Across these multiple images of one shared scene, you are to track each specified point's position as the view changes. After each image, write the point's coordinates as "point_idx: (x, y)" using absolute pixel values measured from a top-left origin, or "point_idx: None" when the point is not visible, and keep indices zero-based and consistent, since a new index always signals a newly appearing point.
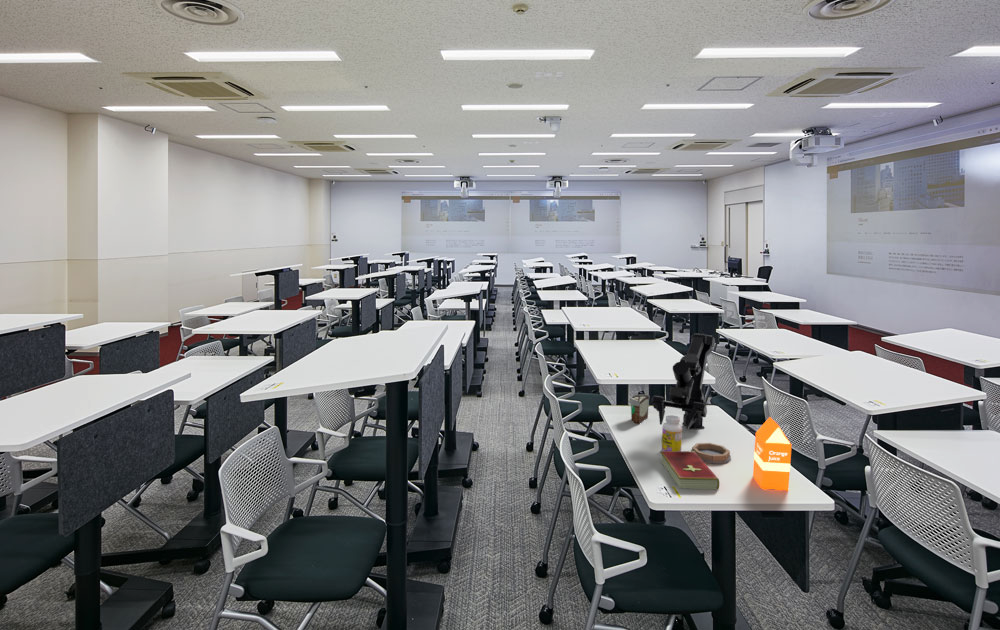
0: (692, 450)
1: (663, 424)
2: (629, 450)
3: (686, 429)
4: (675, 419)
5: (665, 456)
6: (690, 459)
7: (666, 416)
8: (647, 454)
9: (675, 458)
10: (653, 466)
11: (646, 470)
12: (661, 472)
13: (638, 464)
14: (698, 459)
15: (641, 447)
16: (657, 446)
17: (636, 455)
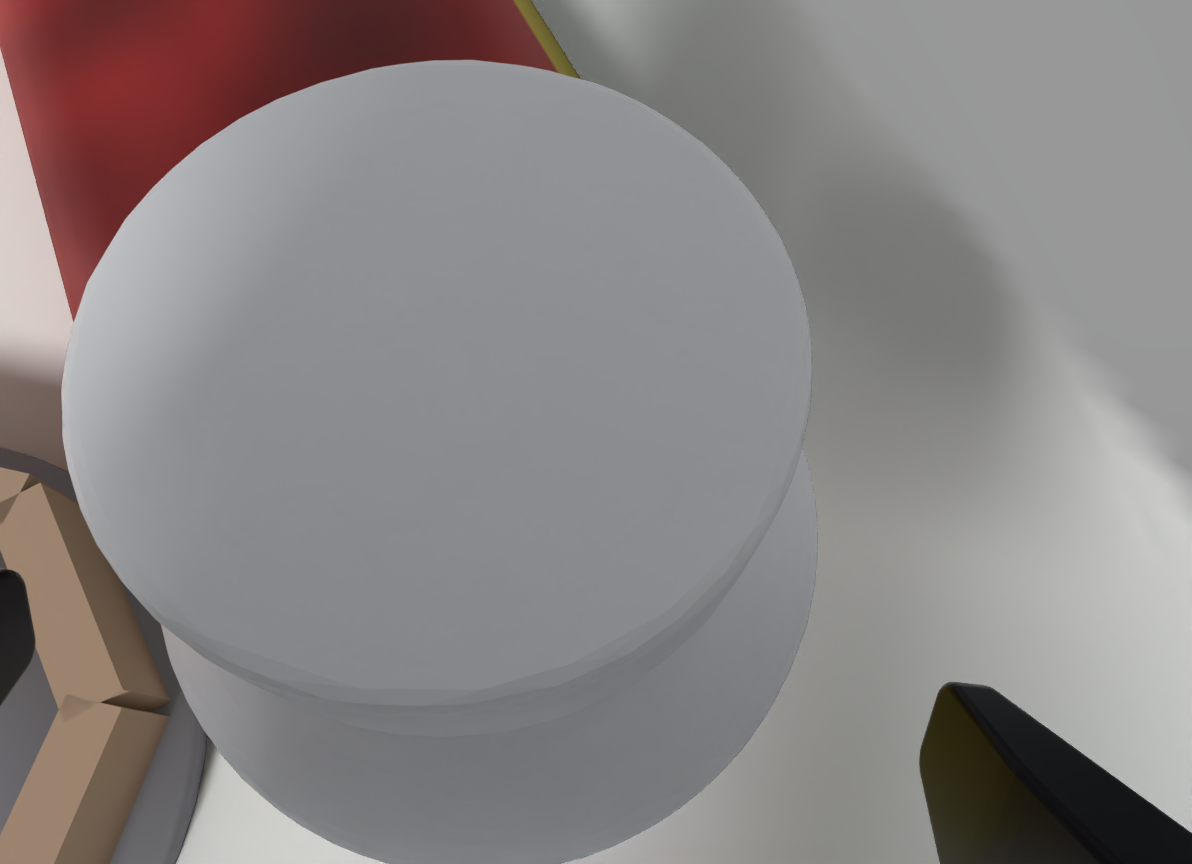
0: (143, 676)
1: (801, 464)
2: (1118, 438)
3: (33, 642)
4: (298, 110)
5: (536, 40)
6: (191, 72)
7: (798, 352)
8: (841, 404)
9: (398, 32)
10: (664, 105)
11: (705, 2)
12: (552, 13)
13: (830, 93)
14: (73, 109)
15: (1027, 643)
16: (810, 832)
17: (956, 312)
